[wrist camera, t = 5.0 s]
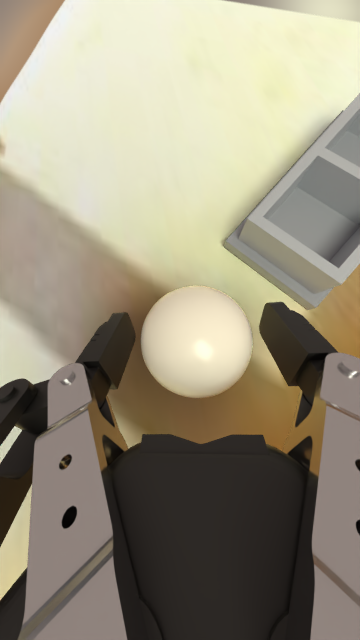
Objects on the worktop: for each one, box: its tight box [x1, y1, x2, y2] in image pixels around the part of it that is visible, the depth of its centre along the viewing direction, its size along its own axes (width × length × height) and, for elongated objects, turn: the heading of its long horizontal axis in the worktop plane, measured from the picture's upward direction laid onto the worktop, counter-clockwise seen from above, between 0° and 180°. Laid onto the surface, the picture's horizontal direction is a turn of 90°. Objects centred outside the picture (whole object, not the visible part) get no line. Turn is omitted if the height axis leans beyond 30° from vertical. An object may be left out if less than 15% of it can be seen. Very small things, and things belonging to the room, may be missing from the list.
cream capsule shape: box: [141, 286, 253, 398], centre depth 10 cm, size 5×5×10 cm
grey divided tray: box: [224, 94, 360, 310], centre depth 13 cm, size 10×17×4 cm, turn 138°
